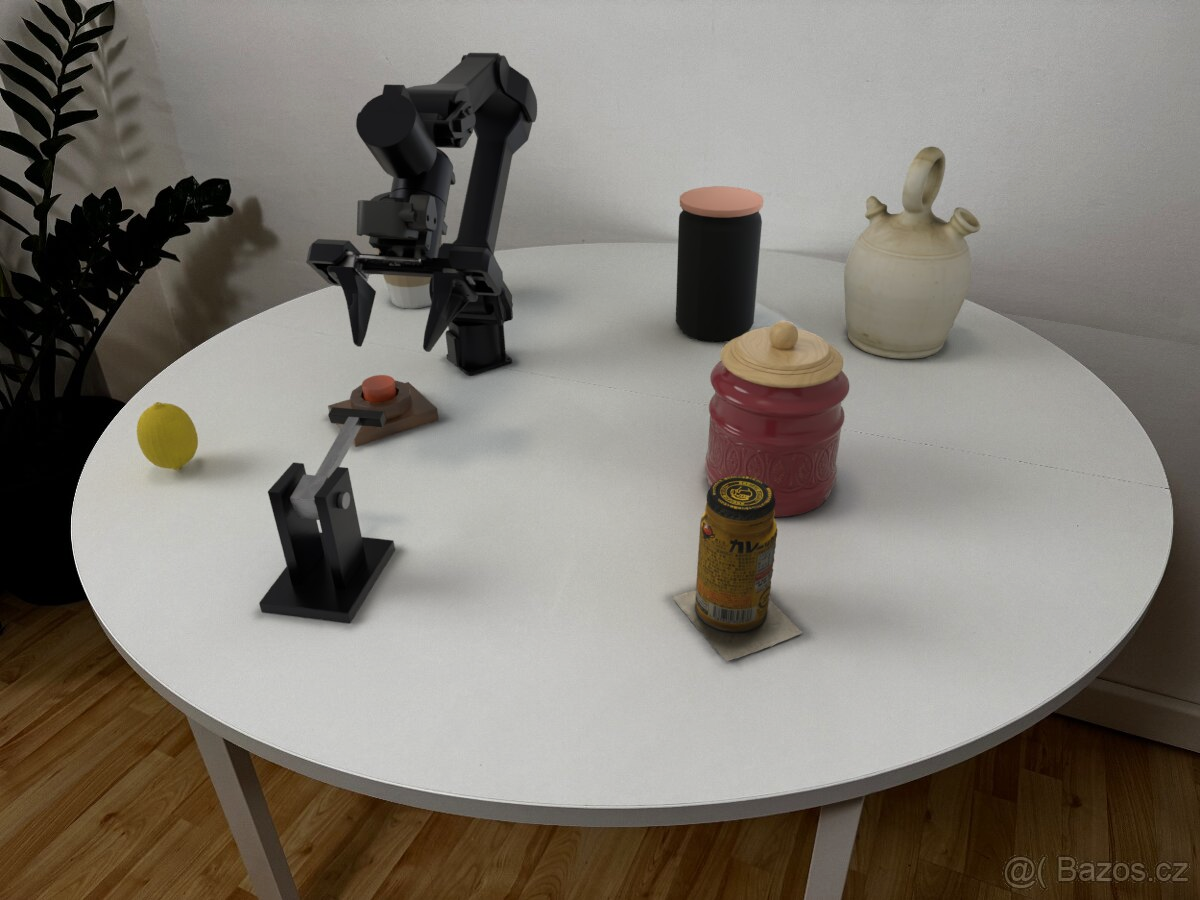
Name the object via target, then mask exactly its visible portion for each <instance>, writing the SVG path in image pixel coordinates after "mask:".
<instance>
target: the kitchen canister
mask: <svg viewBox="0 0 1200 900" xmlns="http://www.w3.org/2000/svg"><path fill="white" fill-rule="evenodd" d="M843 368H844V357H843V356H842V354H841V352H840V351H839V350H838V349H837V348H836V347H835V346H833V344H830V343H828V342H827V341H825V339H823V338H822V337H821V336H819V335H818V334H815V333H813V332H810V331H807V330H804V329H800V328H797V326H796V325H795V324H794V323H793V322H792V321H789V320H779V321H777V322H775V323H774V324H773V325H772V326H766V327H760V328H754V329H750V330H749V331H748V332H747V333H745V334H743V335H742V336H739V337H737V338H735V339H733V340H731V341H729V342H726V344H725V345H724V346H723V347H722V349H721V351H720V361H718V362H717V363H716V364H715V365H714V366H713V368H712V370H711V372H710V377H709V378H710V380H709V381H710V384H711V387H712V388H713V390H714V394H713V396H712V397H711V399H710V400H709V404H708V412H709V426H708V431H709V432H708V444H707V445H708V446H707V447H708V448H707V452H706V455H705V466H704V467H705V469H704V470H705V474H706V477H707V483H708V487H709V488H710V487H711V486H712V484H713V483H715V482H716V481H717V480H718V479H722V478H726V477H729V476H745V477H751V478H755V479H757V480H760V481H762V482H763V483H765V484H766V485H768V486H769V487H770V488H771V489H772V490H773V492H774V496H775V499H776V503H775V507H774V511H775V515H774V517H792V516H796V515H801V514H804V513H807V512H811V511H812V510H815V509H816V508H818V507H821V505H823V504H824V503H825V502H826V501H827V500H828V498H829V497H830V495H831V492H832V489H833V487H834V486H835V483H836V478H837V477H836V476H837V473H838V467H837V459H838V453H839V447H840V446H839V445H840V440H841V433H842V427H843V425H844V422H845V418H846V417H845V416H846V415H845V410H844V408H843V406H842V402H843V401H844V400H845V399H846V398H847V396H848V394H849V392H850V380H849V378H848V377H847V375H846V373H845V372H844V371H843Z"/></svg>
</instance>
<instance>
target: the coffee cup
mask: <svg viewBox="0 0 1200 900" xmlns="http://www.w3.org/2000/svg"><path fill="white" fill-rule="evenodd" d="M390 193H391V191H388V192H383V193H380V194H377V195H375V196H374V197H372V198H371V199H370V201H382V200H383V198H384V197H390ZM442 236H443V235H441V241H440V246H441V245H442V238H443V237H442ZM439 248H440V247H439ZM375 250H376V255H379V249H378V248H375ZM383 279H384V282H385V286H386V289H387V292H388V296H389V298H390V299H391V302H392V304H393V305H394V306H396V307H398V308H401V309H409V310H410V309H421V308H427V307H431V303H432V302H431V298H430V293H429V285H430V279H431V277H415V276H398V275H383Z"/></svg>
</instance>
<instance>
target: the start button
mask: <svg viewBox="0 0 1200 900" xmlns="http://www.w3.org/2000/svg"><path fill="white" fill-rule="evenodd" d="M394 380H395V379H394V378H393V377H392V376H390V375H387V374H380V375H378V374H377V375H373V376H369V377H367V378H365V379H364V380H363V381H362V382H361V385H362V388H363V394H364V399H365V400H366V401H369V402H384V401H387V400H390V399H392V398H394V397H395V396H396V387H395V381H396V380H395V381H394Z"/></svg>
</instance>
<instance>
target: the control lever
mask: <svg viewBox="0 0 1200 900" xmlns="http://www.w3.org/2000/svg"><path fill="white" fill-rule="evenodd" d="M327 415H328V419H329V421H330V424H334V425H336V424H344V425H343V427H342V429H340V430H339V432H338V434H337V436H336V438H335V439H334V441H333V443H332V445H331V447H330V448H329V450H328V451H327V453H326V456H325V457H324V458H323V461H322V462H321V464H320V466H319V467H318V470H317V471H316V473H315V474H314V475H313V474H306V475H305V474H304V475H303V476H302V478H301V479H300V481H299V483H298V485H297V486H296V488H295V490H294V492H293V493H292V495H291V497H290V501H291V503H292V505H293V508H294V510H295V512H296V515H297V517H298V518H305V519H315V520H317V521H319V516H318V512H317V508H316V503H315V499H314V496H315V494H316V493H317V492H318V491H319V489H320V488H321V487H322V486H323V484H324V483H325V482H326V481H327V479H328V478H329V477H330V476H331V474H332V473H333V472H334V471H335V469H336V468H337V467H341V464H342V462H343V461H344V459H345V457H346V455H347V453H348V452H349V450H350V448H351V446H352V445H353V443H352V442H353V441H354V439H355V437H356V435H357V433H358V431H359V430H360V428H361V426H369V427H380V428H382V427H383V425H384V423H385V421H386V418H385V414H384V412H383V411H374V410H362V409H350V408H338V407H332V409H331V411H330V412H329V411H328V414H327Z"/></svg>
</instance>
